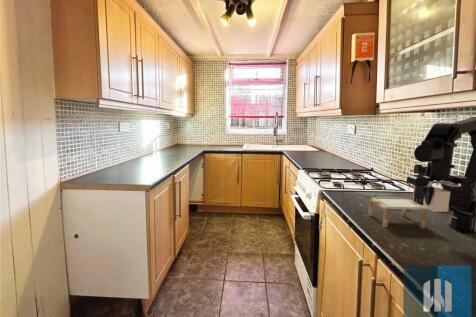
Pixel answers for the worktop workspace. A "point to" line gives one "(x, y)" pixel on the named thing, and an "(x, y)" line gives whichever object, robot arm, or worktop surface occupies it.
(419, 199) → the battery charger
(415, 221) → the worktop surface
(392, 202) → the trapdoor
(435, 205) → the stone block
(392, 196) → the disk drive
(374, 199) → the frame
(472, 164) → the robot arm
